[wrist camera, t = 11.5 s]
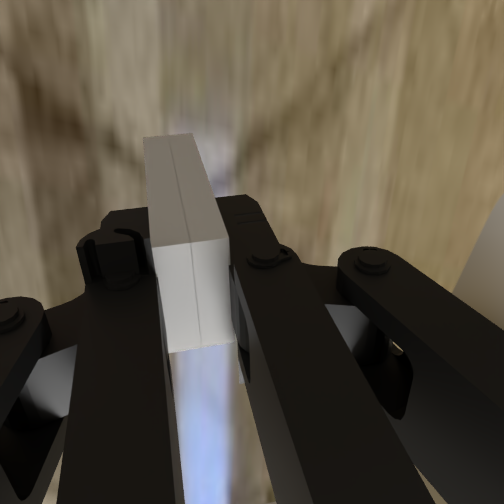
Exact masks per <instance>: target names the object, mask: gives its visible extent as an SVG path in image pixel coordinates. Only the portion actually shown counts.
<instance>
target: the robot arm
mask: <svg viewBox="0 0 504 504" xmlns="http://www.w3.org/2000/svg"><path fill="white" fill-rule="evenodd" d="M143 144H144V158H145V172H146V186H147V200H148V207H142V208H134V209H125V210H116V211H110V212H109V213H108V215H107V216H106V217H105V218H104V219H103V220H102V221H101V227H100V229H98V230H96V231H94V232H91V233H89V234H87V235H86V236H85V237H83V238H82V239H81V240H80V241H79V243H78V244H77V246H76V250H77V254H78V258H79V262H80V265H81V269H82V273H83V277H84V281H85V292H84V293H83V294H82V295H80V296H79V297H77V298H75V299H74V300H71V301H69V302H67V303H64V304H62V305H59V306H56V307H53V308H50V309H47V310H44V309H43V306H42V304H41V303H40V302H39V301H37V300H35V299H33V298H28V297H21V296H20V297H12V298H5V299H1V300H0V504H42V502H43V499H44V497H45V494H46V492H47V490H48V487H49V485H50V482H51V480H52V477H53V475H54V472H55V470H56V467H57V465H58V462H59V460H60V457H61V455H62V452H63V458H62V465H61V473H60V481H59V488H58V496H57V503H56V504H185V500H184V490H183V480H182V470H181V461H180V451H179V441H178V432H177V422H176V412H175V402H174V393H173V383H172V373H171V366H170V360H169V354H168V353H173V352H179V351H185V350H191V349H197V348H203V347H209V346H215V345H221V344H227V343H233V342H235V338H234V330H235V334H236V337H237V342H238V362H239V382H240V384H241V383H245V386H246V389H247V393H248V397H249V401H250V405H251V408H252V412H253V416H254V420H255V423H256V427H257V431H258V435H259V438H260V442H261V446H262V450H263V454H264V457H265V461H266V465H267V469H268V472H269V476H270V480H271V484H272V487H273V491H274V495H275V499H276V502H277V504H435V502H434V500H433V498H432V497H431V495H430V493H429V491H428V489H427V488H426V486H425V484H424V482H423V480H422V479H421V477H420V475H419V473H418V471H417V470H416V468H415V466H416V467H417V468H418V469H419V471H420V472H421V473H422V474H423V475H424V477H425V478H426V479H427V480H428V481H429V482H430V484H431V485H432V486H433V487H434V488H435V489H436V490H437V492H438V493H439V494H440V495H441V496H442V497H443V499H444V500H445V501H446V502H447V503H448V504H504V330H502V329H501V328H499V327H498V326H497V325H495V324H494V323H492V322H491V321H489V320H488V319H487V318H485V317H484V316H483V315H481V314H480V313H478V312H477V311H476V310H474V309H473V308H471V307H470V306H468V305H467V304H466V303H464V302H463V301H461V300H460V299H458V298H457V297H456V296H454V295H453V294H452V293H450V292H449V291H447V290H446V289H444V288H443V287H442V286H440V285H439V284H437V283H436V282H435V281H433V280H432V279H430V278H429V277H428V276H426V275H425V274H423V273H422V272H420V271H419V270H418V269H416V268H415V267H413V266H412V265H411V264H409V263H408V262H406V261H405V260H404V259H402V258H401V257H399V256H398V255H396V254H394V253H392V252H390V251H388V250H385V249H381V248H377V247H371V246H370V247H368V246H365V247H357V248H351V249H349V250H347V251H345V252H343V253H342V254H341V256H340V257H339V258H338V266H337V267H333V266H317V265H309V264H305V263H301V261H300V259H299V257H298V256H297V254H296V253H295V252H294V251H293V250H292V249H291V248H289V247H287V246H284V245H282V244H279V242H278V240H277V238H276V236H275V234H274V232H273V230H272V229H271V227H270V225H269V223H268V221H267V219H266V217H265V215H264V213H263V211H262V209H261V207H260V206H259V204H258V202H257V201H255V200H254V199H252V198H251V197H249V196H248V195H246V194H244V195H235V196H226V197H218V198H215V197H214V194H213V191H212V188H211V185H210V182H209V180H208V177H207V174H206V171H205V168H204V165H203V163H202V160H201V157H200V154H199V151H198V148H197V146H196V143H195V140H194V137H193V134H192V133H189V134H178V135H167V136H155V137H144V138H143ZM393 342H394V343H396V344H397V345H398V346H399V347H400V348H401V349H402V350H403V351H401V350H400V349H398V348H397V347H396V346H395V345H394V344H393ZM414 465H415V466H414Z"/></svg>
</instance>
